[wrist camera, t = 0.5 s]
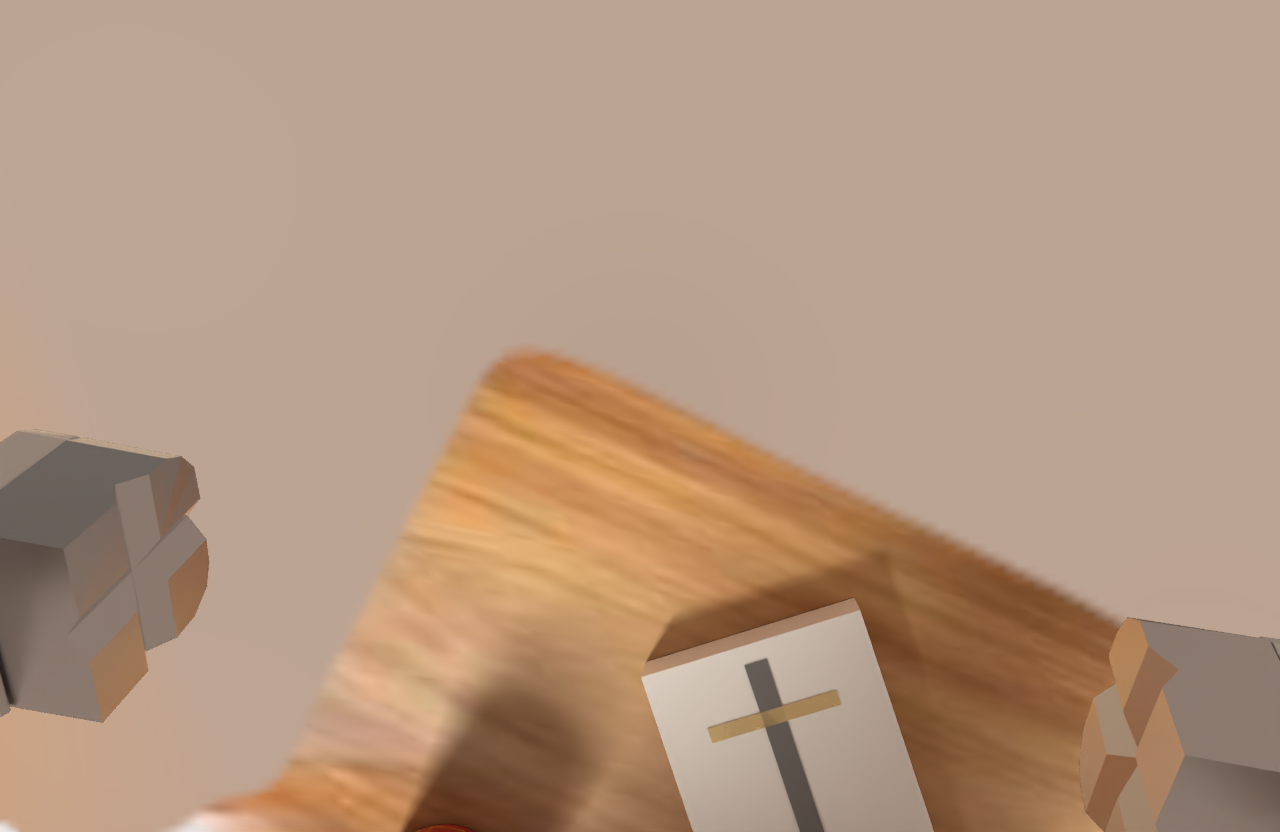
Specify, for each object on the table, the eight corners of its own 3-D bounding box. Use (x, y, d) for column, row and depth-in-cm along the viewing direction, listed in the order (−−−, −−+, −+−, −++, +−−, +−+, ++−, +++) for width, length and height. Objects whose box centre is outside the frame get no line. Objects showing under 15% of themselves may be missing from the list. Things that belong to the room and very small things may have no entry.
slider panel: (981, 978, 60) (993, 1011, 57) (771, 1034, 61) (772, 1069, 58) (854, 597, 60) (860, 610, 57) (645, 662, 61) (640, 677, 58)
